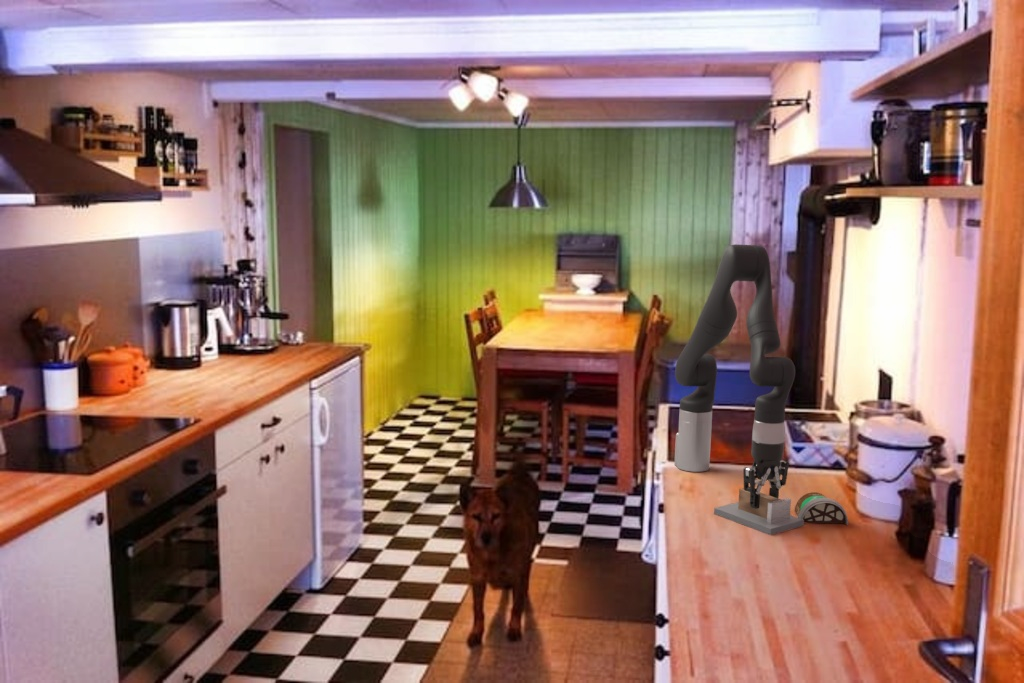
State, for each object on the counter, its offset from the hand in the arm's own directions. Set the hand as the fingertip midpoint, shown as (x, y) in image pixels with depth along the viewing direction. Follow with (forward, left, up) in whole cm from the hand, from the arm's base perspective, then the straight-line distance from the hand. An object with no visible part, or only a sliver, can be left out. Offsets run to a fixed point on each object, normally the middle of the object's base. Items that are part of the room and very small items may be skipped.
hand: (763, 505), depth 251 cm
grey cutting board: (-1, 0, -4) cm, 4 cm away
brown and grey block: (-1, 0, -3) cm, 3 cm away
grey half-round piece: (+2, +17, -1) cm, 17 cm away
